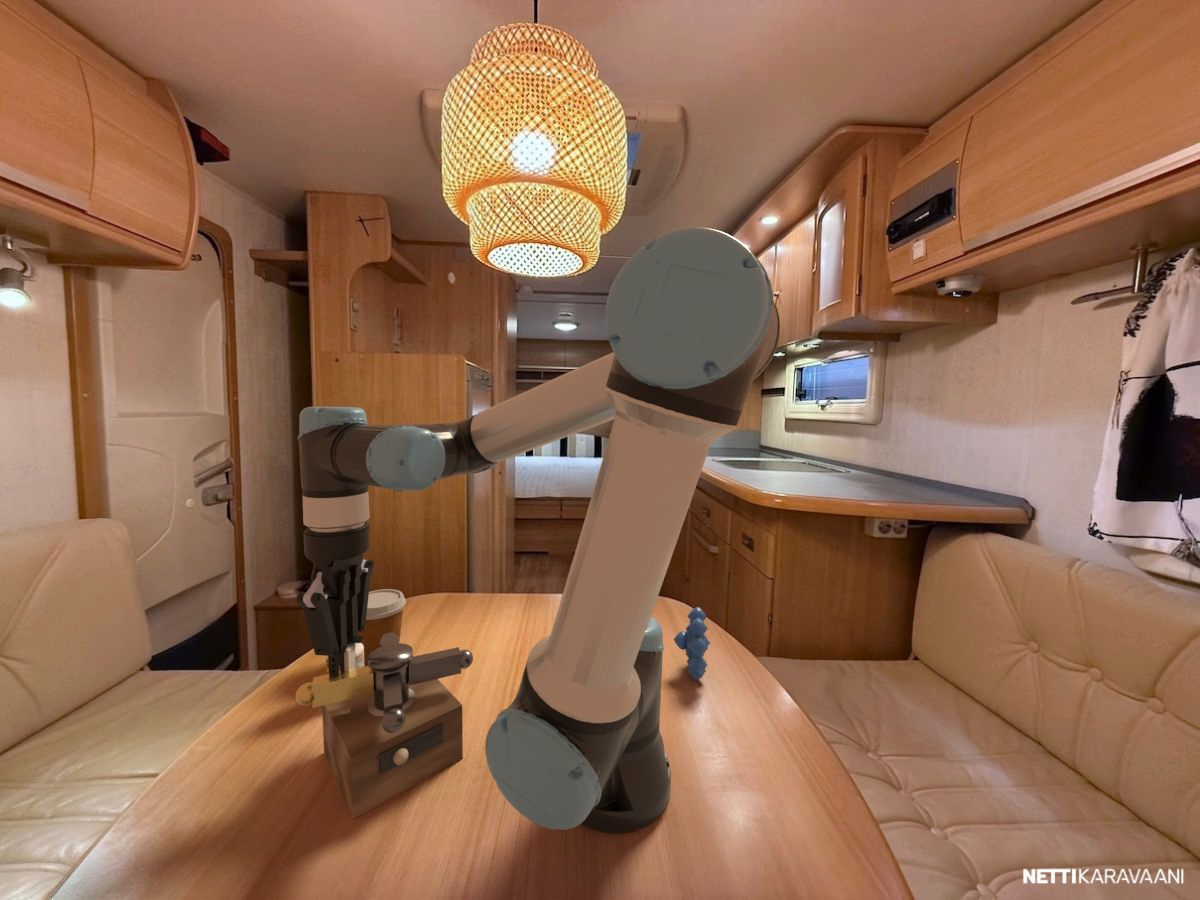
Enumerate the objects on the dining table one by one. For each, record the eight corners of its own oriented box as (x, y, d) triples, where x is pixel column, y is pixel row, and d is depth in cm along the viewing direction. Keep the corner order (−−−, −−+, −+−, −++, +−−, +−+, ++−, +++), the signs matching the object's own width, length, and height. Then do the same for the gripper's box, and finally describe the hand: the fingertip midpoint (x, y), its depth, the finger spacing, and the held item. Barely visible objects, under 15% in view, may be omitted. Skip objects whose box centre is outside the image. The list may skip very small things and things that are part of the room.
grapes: (672, 652, 92) (674, 596, 91) (705, 655, 91) (708, 598, 90) (672, 687, 81) (675, 623, 80) (711, 691, 80) (714, 626, 79)
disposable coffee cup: (392, 672, 83) (391, 610, 82) (341, 670, 83) (339, 608, 82) (415, 645, 93) (414, 588, 91) (369, 643, 93) (367, 587, 92)
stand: (467, 764, 62) (467, 708, 62) (355, 829, 53) (353, 763, 52) (421, 707, 74) (420, 659, 73) (322, 752, 64) (319, 697, 63)
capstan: (460, 644, 78) (460, 606, 77) (489, 728, 58) (489, 678, 57) (308, 676, 68) (306, 633, 67) (280, 789, 48) (277, 730, 47)
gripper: (340, 511, 66) (345, 663, 68) (271, 537, 53) (281, 724, 56) (390, 513, 66) (394, 666, 68) (333, 540, 53) (340, 727, 55)
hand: (343, 692), depth 62 cm, fingers closed
